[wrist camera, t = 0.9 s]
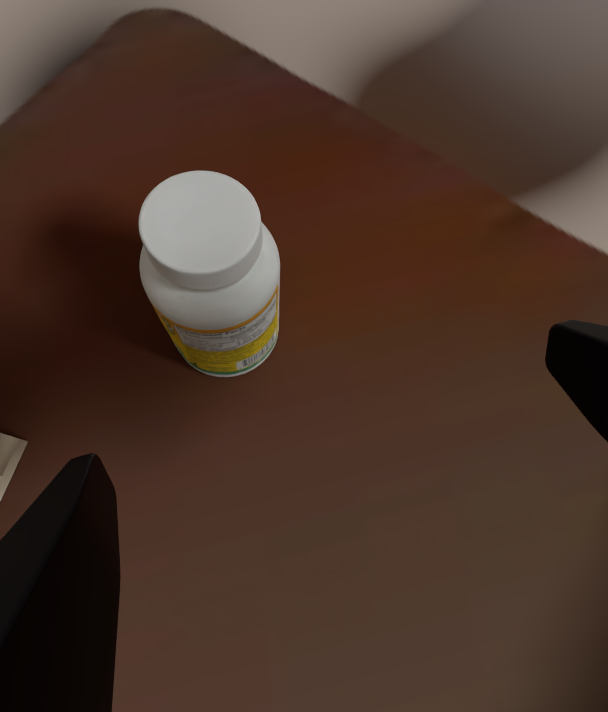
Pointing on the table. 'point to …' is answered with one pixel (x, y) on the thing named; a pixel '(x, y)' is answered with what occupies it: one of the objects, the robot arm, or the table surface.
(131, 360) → the table surface
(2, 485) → the holder
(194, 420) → the table surface
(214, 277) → the supplement bottle
